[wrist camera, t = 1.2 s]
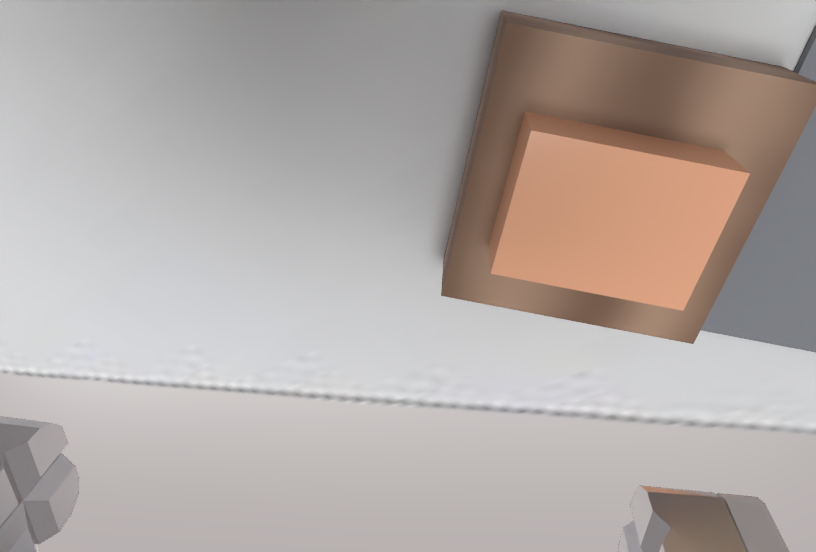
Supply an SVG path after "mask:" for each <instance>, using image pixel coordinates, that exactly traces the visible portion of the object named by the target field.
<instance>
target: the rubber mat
mask: <svg viewBox="0 0 816 552" xmlns="http://www.w3.org/2000/svg"><path fill="white" fill-rule="evenodd" d="M794 72H795V73H797V74H799V75H802V76H804V77H806V78H808V79H810V80H813V81H815V82H816V27H815V29H814V31H813V33H812V35H811V37H810V39H809V41H808V43H807V45H806V47H805V50H804V52H803V54H802V56H801V58H800V60H799V62H798V64H797V66H796V68H795V70H794ZM701 330H703V331H708V332H713V333H718V334H723V335H729V336H734V337H739V338H744V339H749V340H755V341H760V342H765V343H770V344H775V345H781V346H786V347H791V348H796V349H802V350H807V351H812V352H816V107H815V109H814V111H813V113H812V115H811V117H810V118H809V120H808V122H807V124H806V126H805V128H804V130H803V132H802V134H801V136H800V138H799V140H798V142H797V144H796V146H795V148H794V149H793V151H792V153H791V155H790V157H789V159H788V161H787V163H786V165H785V167H784V169H783V171H782V173H781V175H780V177H779V179H778V180H777V182H776V184H775V186H774V188H773V190H772V192H771V194H770V196H769V198H768V200H767V202H766V204H765V206H764V208H763V210H762V212H761V213H760V215H759V217H758V219H757V221H756V223H755V225H754V227H753V229H752V231H751V233H750V235H749V237H748V239H747V241H746V243H745V244H744V246H743V248H742V250H741V252H740V254H739V256H738V258H737V260H736V262H735V264H734V266H733V268H732V270H731V272H730V274H729V275H728V277H727V279H726V281H725V283H724V285H723V287H722V289H721V291H720V293H719V295H718V297H717V299H716V301H715V303H714V305H713V307H712V308H711V310H710V312H709V314H708V316H707V318H706V320H705V322H704V324H703V326H702V328H701Z"/></svg>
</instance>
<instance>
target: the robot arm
mask: <svg viewBox="0 0 816 552" xmlns="http://www.w3.org/2000/svg"><path fill="white" fill-rule="evenodd" d="M67 444H68V441H67V439H66V436H65V434H64V431H63V428H62V426H60V425H57V424H53V423H48V422H40V421H33V420H26V419H18V418H11V417H3V416H0V552H39V544H40V543H42V542H44V541H45V540H47V539H48V538H50V537H52V536H53V535H55V534H57V533H58V532H60V530H61V529H62V527H63V525H64V524H65V523H66V521H67V520H68V518H69V517H70V515H71V514H72V511H73V508H74V505H75V502H76V500H77V497H78V494H79V477H78V473H77V470H76V466H75V465H74V464H72V462H71V461H70V460H68V459H67V458H66V457H65V456H64V455H63V454H62V452H63V450H64V449H65V447H66V446H67ZM630 506H631V511H632V514H633V519H634V521H632V522H631V523H629V524H628V525H626V526H625V527H623V530H622V534H621V538H620V541H619V547H618V552H789V550H788V548H787V546H786V544H785V542H784V540H783V538H782V536H781V534H780V532H779V530H778V528H777V526H776V524H775V522H774V520H773V519H772V516H771V515H770V513H769V511H768V509H767V507H766V505H765V503H764V502H762V501H761V500H760V499H759V498H758V497H752V496H741V495H731V494H721V493H718V494H715V493H712V492H702V491H692V490H682V489H670V488H661V487H651V486H639V487H638V488H637V489H636V490H635V492H634V494H633V498H632V501H631V504H630Z"/></svg>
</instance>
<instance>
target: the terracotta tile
mask: <svg viewBox="0 0 816 552" xmlns="http://www.w3.org/2000/svg"><path fill="white" fill-rule="evenodd" d="M749 175H750V173H749V172H748V171H747V170H746V169H745V168H743V167H742V166H741V165H740V164H739V163H738V162H737V161H736V160H734V159H733V158H732V157H731V156H730V155H729V154H728V153H726V152H725V151H723V150H718V149H713V148H708V147H703V146H697V145H692V144H687V143H682V142H677V141H672V140H667V139H662V138H657V137H652V136H647V135H642V134H637V133H632V132H627V131H622V130H617V129H611V128H606V127H601V126H596V125H591V124H586V123H581V122H576V121H571V120H566V119H561V118H556V117H551V116H546V115H541V114H536V113H531V112H525V114H524V117H523V121H522V125H521V128H520V132H519V136H518V139H517V143H516V147H515V150H514V154H513V157H512V161H511V165H510V168H509V172H508V176H507V179H506V183H505V187H504V190H503V194H502V198H501V201H500V205H499V209H498V212H497V216H496V220H495V223H494V227H493V231H492V234H491V238H490V242H489V245H488V246H489V260H490V273H491V274H495V275H500V276H505V277H510V278H516V279H521V280H526V281H531V282H536V283H542V284H547V285H552V286H557V287H562V288H568V289H573V290H578V291H583V292H588V293H594V294H599V295H604V296H609V297H614V298H620V299H625V300H630V301H635V302H640V303H645V304H651V305H656V306H661V307H666V308H671V309H677V310H682V311H683V310H684V308H685V306H686V304H687V302H688V300H689V298H690V296H691V294H692V292H693V290H694V288H695V286H696V284H697V282H698V279H699V277H700V275H701V273H702V271H703V269H704V267H705V265H706V263H707V261H708V259H709V257H710V255H711V253H712V251H713V249H714V247H715V245H716V243H717V241H718V239H719V236H720V234H721V232H722V230H723V228H724V226H725V224H726V222H727V220H728V218H729V216H730V214H731V212H732V210H733V208H734V206H735V204H736V202H737V200H738V198H739V196H740V193H741V191H742V189H743V187H744V185H745V183H746V181H747V179H748V177H749Z"/></svg>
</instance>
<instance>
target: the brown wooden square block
mask: <svg viewBox="0 0 816 552" xmlns="http://www.w3.org/2000/svg"><path fill="white" fill-rule="evenodd" d="M815 107H816V82H815V81H813V80H810V79H808V78H806V77H804V76H802V75H799V74H797V73H795V72H793V71H791V70H789V69H786V68H784V67H780V66H775V65H770V64H765V63H760V62H755V61H750V60H745V59H740V58H736V57H731V56H726V55H721V54H716V53H711V52H706V51H701V50H696V49H691V48H686V47H681V46H676V45H671V44H666V43H661V42H656V41H651V40H646V39H641V38H636V37H631V36H626V35H621V34H616V33H611V32H606V31H601V30H596V29H591V28H586V27H581V26H576V25H571V24H566V23H561V22H556V21H551V20H546V19H541V18H536V17H531V16H526V15H521V14H516V13H511V12H506V11H502V12H501V17H500V21H499V25H498V29H497V34H496V38H495V42H494V46H493V51H492V55H491V59H490V64H489V68H488V72H487V76H486V81H485V85H484V89H483V93H482V98H481V102H480V106H479V110H478V115H477V119H476V123H475V128H474V132H473V136H472V140H471V145H470V149H469V153H468V157H467V162H466V166H465V170H464V175H463V179H462V183H461V187H460V192H459V196H458V200H457V204H456V209H455V213H454V217H453V221H452V226H451V230H450V234H449V239H448V243H447V247H446V251H445V256H444V261H443V277H442V293H441V296H446V297H451V298H456V299H462V300H467V301H472V302H477V303H482V304H488V305H493V306H498V307H503V308H509V309H514V310H519V311H524V312H529V313H535V314H540V315H545V316H550V317H556V318H561V319H566V320H571V321H576V322H582V323H587V324H592V325H597V326H603V327H608V328H613V329H618V330H623V331H629V332H634V333H639V334H644V335H650V336H655V337H660V338H665V339H670V340H676V341H681V342H686V343H691V344H693V343H694V341H695V339H696V338H697V336H698V334H699V332H700V330H701V328H702V326H703V324H704V322H705V320H706V318H707V316H708V314H709V312H710V310H711V308H712V307H713V305H714V303H715V301H716V299H717V297H718V295H719V293H720V291H721V289H722V287H723V285H724V283H725V281H726V279H727V277H728V275H729V274H730V272H731V270H732V268H733V266H734V264H735V262H736V260H737V258H738V256H739V254H740V252H741V250H742V248H743V246H744V244H745V243H746V241H747V239H748V237H749V235H750V233H751V231H752V229H753V227H754V225H755V223H756V221H757V219H758V217H759V215H760V213H761V212H762V210H763V208H764V206H765V204H766V202H767V200H768V198H769V196H770V194H771V192H772V190H773V188H774V186H775V184H776V182H777V180H778V179H779V177H780V175H781V173H782V171H783V169H784V167H785V165H786V163H787V161H788V159H789V157H790V155H791V153H792V151H793V149H794V148H795V146H796V144H797V142H798V140H799V138H800V136H801V134H802V132H803V130H804V128H805V126H806V124H807V122H808V120H809V118H810V117H811V115H812V113H813V111H814V109H815ZM525 112H531V113H536V114H541V115H546V116H551V117H556V118H561V119H566V120H571V121H576V122H581V123H586V124H591V125H596V126H601V127H606V128H611V129H617V130H622V131H627V132H632V133H637V134H642V135H647V136H652V137H657V138H662V139H667V140H672V141H677V142H682V143H687V144H692V145H697V146H703V147H708V148H713V149H718V150H723V151H725V152H726V153H728V154H729V155H730V156H731V157H732V158H733V159H734V160H736V161H737V162H738V163H739V164H740V165H741V166H742V167H743V168H745V169H746V170H747V171H748V172H749V173H750V175H749V177H748V179H747V181H746V183H745V185H744V187H743V189H742V191H741V193H740V196H739V198H738V200H737V202H736V204H735V206H734V208H733V210H732V212H731V214H730V216H729V218H728V220H727V222H726V224H725V226H724V228H723V230H722V232H721V234H720V236H719V239H718V241H717V243H716V245H715V247H714V249H713V251H712V253H711V255H710V257H709V259H708V261H707V263H706V265H705V267H704V269H703V271H702V273H701V275H700V277H699V279H698V282H697V284H696V286H695V288H694V290H693V292H692V294H691V296H690V298H689V300H688V302H687V304H686V306H685V308H684V310H683V311H682V310H677V309H671V308H666V307H661V306H656V305H651V304H645V303H640V302H635V301H630V300H625V299H620V298H614V297H609V296H604V295H599V294H594V293H588V292H583V291H578V290H573V289H568V288H562V287H557V286H552V285H547V284H542V283H536V282H531V281H526V280H521V279H516V278H510V277H505V276H500V275H495V274H491V273H490V260H489V246H488V245H489V242H490V238H491V234H492V231H493V227H494V223H495V220H496V216H497V212H498V209H499V205H500V201H501V198H502V194H503V190H504V187H505V183H506V179H507V176H508V172H509V168H510V165H511V161H512V157H513V154H514V150H515V147H516V143H517V139H518V136H519V132H520V128H521V125H522V121H523V117H524V114H525Z"/></svg>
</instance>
